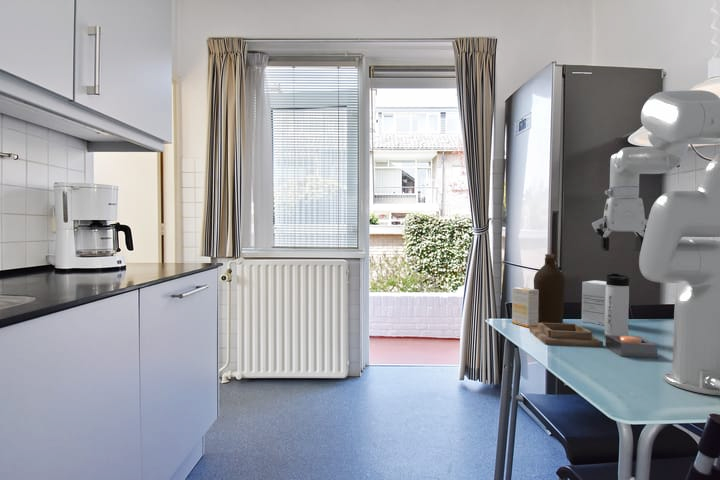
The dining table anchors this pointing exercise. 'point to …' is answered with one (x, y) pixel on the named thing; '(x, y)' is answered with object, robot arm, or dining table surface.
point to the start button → (630, 339)
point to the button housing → (631, 347)
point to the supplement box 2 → (593, 302)
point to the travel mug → (616, 305)
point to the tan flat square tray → (565, 334)
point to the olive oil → (550, 292)
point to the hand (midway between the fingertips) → (622, 250)
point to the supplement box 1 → (525, 306)
